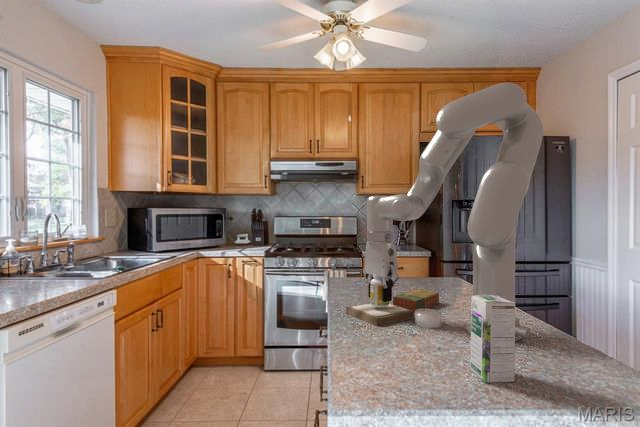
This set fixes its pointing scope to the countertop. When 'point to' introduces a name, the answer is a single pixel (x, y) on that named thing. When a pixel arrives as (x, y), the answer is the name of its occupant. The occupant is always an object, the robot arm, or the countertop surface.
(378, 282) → the supplement bottle
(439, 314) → the white glossy dome
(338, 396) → the countertop surface
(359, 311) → the tray
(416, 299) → the carton
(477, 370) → the syrup box
